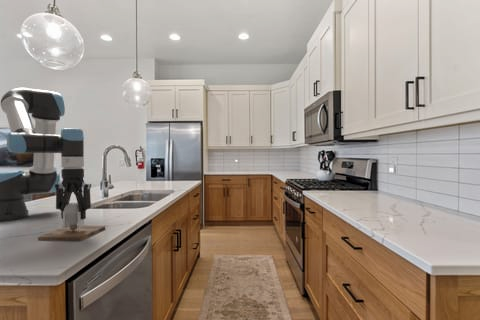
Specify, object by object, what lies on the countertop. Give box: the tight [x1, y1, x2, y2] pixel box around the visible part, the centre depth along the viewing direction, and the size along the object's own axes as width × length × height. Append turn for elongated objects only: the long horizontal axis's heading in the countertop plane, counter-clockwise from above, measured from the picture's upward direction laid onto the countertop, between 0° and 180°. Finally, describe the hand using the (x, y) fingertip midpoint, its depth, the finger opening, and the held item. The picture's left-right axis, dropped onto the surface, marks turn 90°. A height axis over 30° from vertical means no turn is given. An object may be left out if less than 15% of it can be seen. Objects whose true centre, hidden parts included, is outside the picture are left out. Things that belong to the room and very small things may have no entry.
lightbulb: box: [64, 202, 79, 231], centre depth 107 cm, size 6×6×11 cm
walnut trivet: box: [37, 225, 106, 242], centre depth 108 cm, size 16×16×1 cm
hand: (73, 227), depth 107 cm, fingers closed on lightbulb, 5 cm apart
